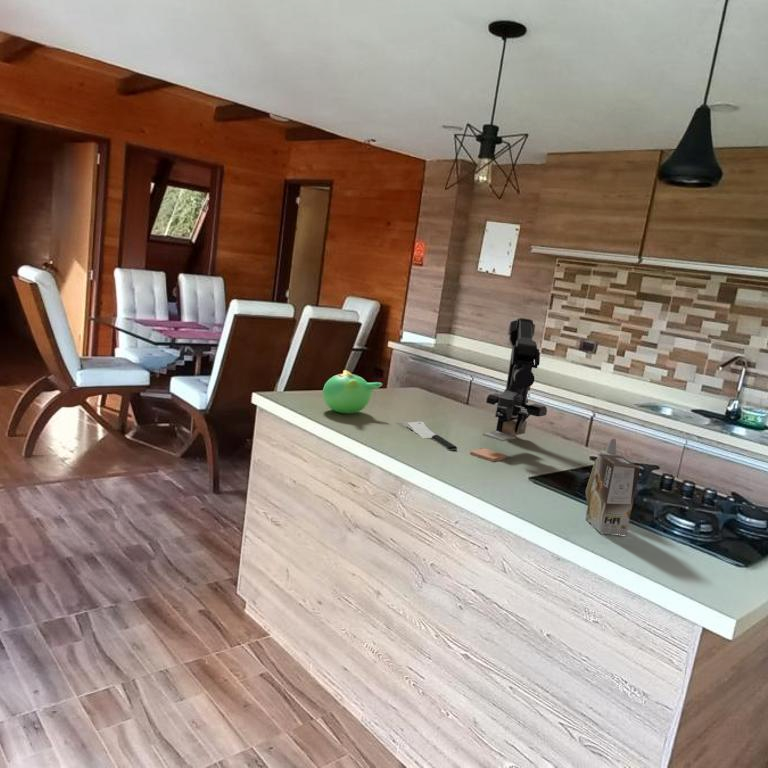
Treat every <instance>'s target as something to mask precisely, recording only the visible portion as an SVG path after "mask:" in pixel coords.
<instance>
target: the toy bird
mask: <svg viewBox="0 0 768 768" xmlns="http://www.w3.org/2000/svg"><path fill="white" fill-rule="evenodd" d="M382 386H383V383H382V382H378V381H375V382H368V381H366V380H365V379H364V378H363V377H362V376H359V375H358V374H353V373H351V372H350V371H349V370H346V369H344V370H343V371H342V373H339V374H336V375H333V376H332V377H330V378H329V379H328V380H327V381H326V382H325V383H324V386H323V389H322V399H323V401H324V403H325V404H326V406H327V407H329V408H330V409H331V410H332V411H335V412H336V413H341V414H346V413H347V414H348V415H349V414H355V413H359V412H360V411H362V410H363V409H365V408H366V407H367V405H369V403H370V400H371V399H372V392H373V391H375V390H377V389H379V388H380V387H382Z"/></svg>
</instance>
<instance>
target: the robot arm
mask: <svg viewBox="0 0 768 768" xmlns="http://www.w3.org/2000/svg"><path fill="white" fill-rule="evenodd" d="M533 322H534V320H532V319H531V318H525V317H524V318H523V317H519V318H517V319H516V320H512V321H510V323H509V325H508V331H507V335H508V336H509V337H508V341H509V344H510V346H511V353H510V360H509V367H508V372H507V379H506V385H505V389H504V391H502V393H500V394H499V393H490V394H488V395H487V396H486V401H485V403H486V404H489V405H495V404H496V405H495V410H494V417H495V418H498V419H497V422H496V429H495V431H498V432H501V433H502V428H503V422H505V421H511V420H516V419H517V423H516V427H515V433H517V432H518V431H519V429H520V428H521V426H522V425H523V423H524V422H525V421H527V419H528V418H529V417H530V416H534V417H538V418H539V417H544V416H547V412H548V409H547V407H546V405H541V404H539V403H532V404H529V399H528V393H529V391H531V386H533V384H534V382H535V374H534V373H533V371H532V369H537V368H538V366H540V359H541V352H540V349H539V348H538V344H537V342H536V341H535V340H533V337H534V335H535V330H536V324H534V323H533ZM493 431H494V430H493ZM493 431H491V432H493ZM516 436H517V435H515V437H516Z"/></svg>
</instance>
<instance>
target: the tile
mask: <svg viewBox="0 0 768 768" xmlns="http://www.w3.org/2000/svg"><path fill="white" fill-rule="evenodd" d="M469 454H470V455H471V456H474V457H478V458H481V459H483V460H487V461H490V462H491V463H492V462H497V461H500V460H503V459H507V455H506V454H503V453H501V452H498V451H494V450H491V449H488V448H485V447H483V448H480V449H475V450H470V452H469Z"/></svg>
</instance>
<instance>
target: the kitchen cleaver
mask: <svg viewBox="0 0 768 768" xmlns="http://www.w3.org/2000/svg"><path fill="white" fill-rule="evenodd" d="M405 423H408V424H409V425H410V426H411V427H412V428H413V430H414V431H415V432H416V433H418V434H419V435H420V436H421V437H422V438H421V437H420V436H419V437H420V438H421V439H429V440H433V441H435V442H437V443H438V444H439V445H441V446H442V447H444V448H445V449H446V450H447V451H452V452H454V451H457V450H458V447H457V446H456V445H455V444H453V443H451V442H450V441H449V440H447V439H445V438H444V437H442V436H440V435H439V434H436V433H434V432H433V431H431V430H430V429H429V428H428V426H426V424H425V422H423V421H410V422H405Z"/></svg>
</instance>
